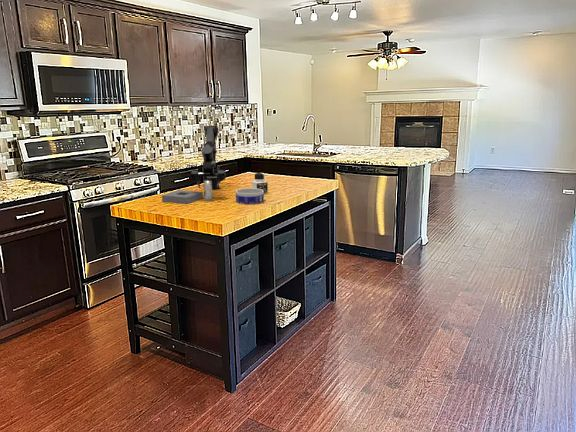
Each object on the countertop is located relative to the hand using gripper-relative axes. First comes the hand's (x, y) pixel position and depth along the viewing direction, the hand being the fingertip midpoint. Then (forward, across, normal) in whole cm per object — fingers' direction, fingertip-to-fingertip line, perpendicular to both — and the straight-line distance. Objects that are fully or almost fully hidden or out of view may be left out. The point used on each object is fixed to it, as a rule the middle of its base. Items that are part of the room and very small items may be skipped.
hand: (207, 187), depth 242 cm
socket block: (+2, -14, +8) cm, 16 cm away
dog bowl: (+8, +23, +3) cm, 24 cm away
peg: (+4, 0, +6) cm, 7 cm away
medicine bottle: (-7, +29, +18) cm, 35 cm away
